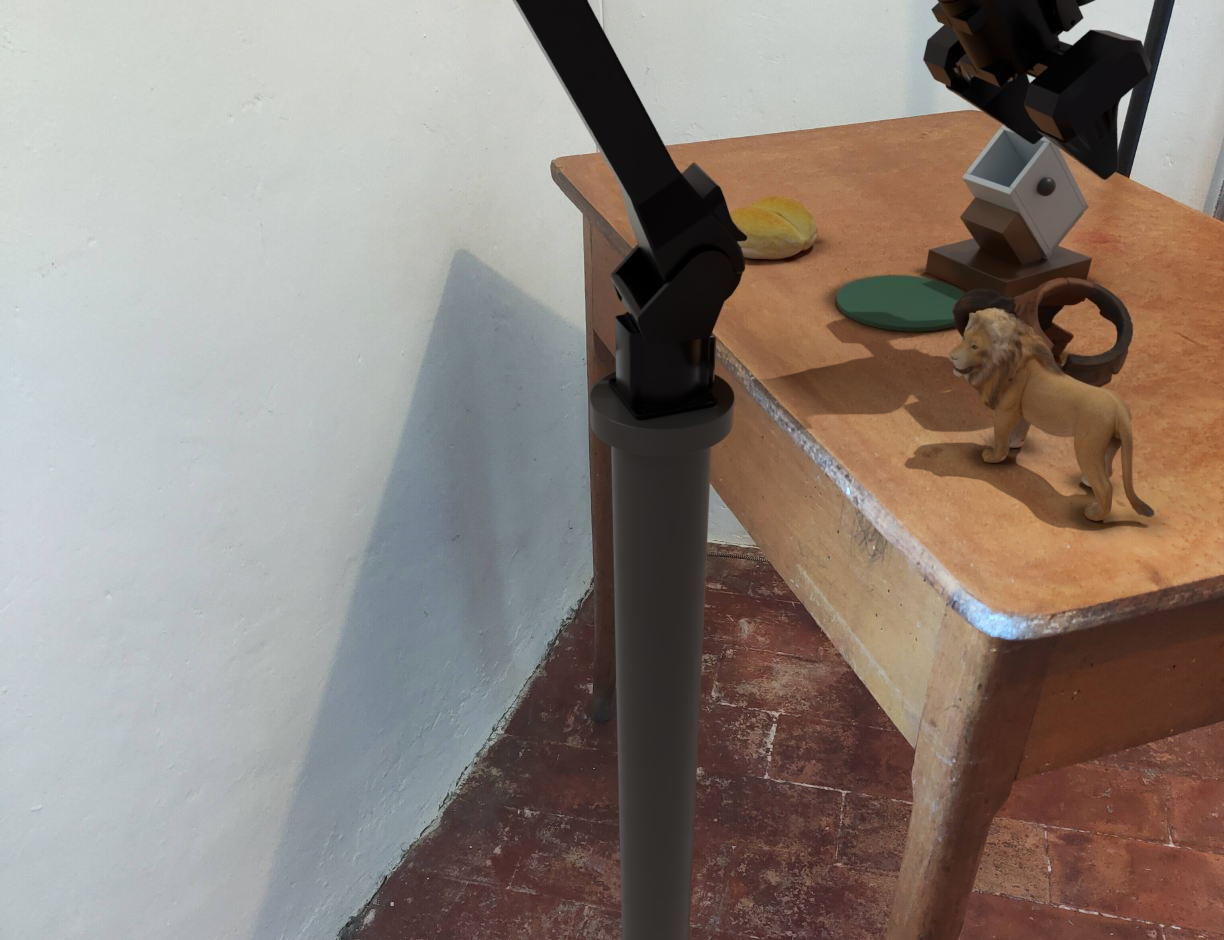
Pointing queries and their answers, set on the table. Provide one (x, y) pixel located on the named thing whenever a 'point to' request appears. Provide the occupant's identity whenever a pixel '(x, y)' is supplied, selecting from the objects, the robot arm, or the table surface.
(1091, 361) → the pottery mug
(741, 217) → the bread roll
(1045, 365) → the lion figurine
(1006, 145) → the grey storage bin
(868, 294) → the coaster
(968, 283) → the tilted cube pedestal
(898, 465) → the table surface
